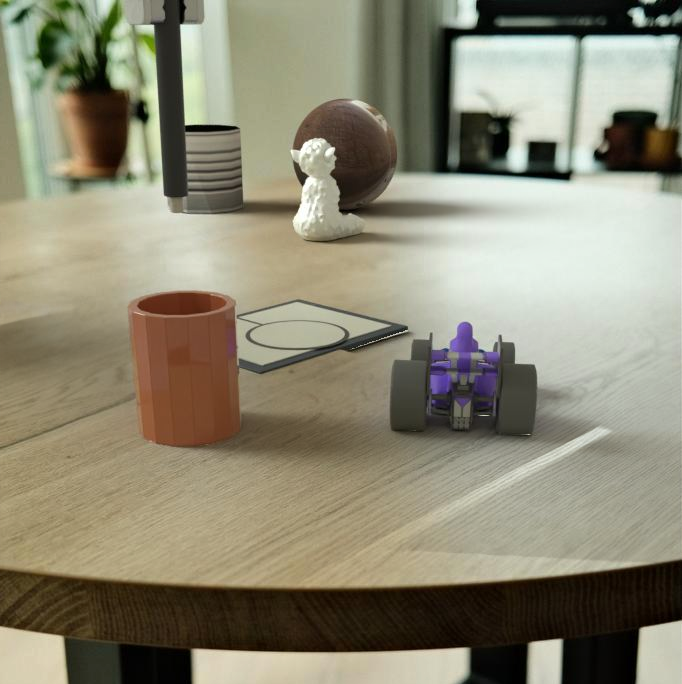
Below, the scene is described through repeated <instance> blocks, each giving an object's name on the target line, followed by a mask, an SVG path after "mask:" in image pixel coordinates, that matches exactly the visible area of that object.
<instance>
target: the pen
mask: <svg viewBox="0 0 682 684" xmlns="http://www.w3.org/2000/svg"><path fill="white" fill-rule="evenodd" d="M162 8H163V9H164V11H165V20H164V23H163V24H162V25H153V34H154V50H155V65H156V66H155V67H156V68H155V69H156V70H155V71H156V84H157V85H156V88H157V101H158V103H157V105H158V119H159V120H158V121H159V138H160V153H161V170H162V171H161V172H162V187H163V188H162V189H163V196H164V197H165V198H167V197H170V209H169V210H170V213H172V214H182V212H183V197H186V196H188V177H187V156H186V135H185V125H186V118H185V115H186V114H185V95H184V73H183V55H182V54H183V52H182V31H181V30H182V29H181V25H180V8H179V0H164V5H163V7H162Z"/></svg>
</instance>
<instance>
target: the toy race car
mask: <svg viewBox="0 0 682 684" xmlns="http://www.w3.org/2000/svg"><path fill="white" fill-rule="evenodd" d="M433 334H434V333H433V332H429V338H428V339H423V338H421V339H420V338H419V339H418V338H414V339H413V340H412V342H411V347H410V348H411V350H410V359H394V360H393V363H392V367H391V375H390V387H389V388H390V389H389V427H390V430H391V429H392V430H391V431H403V430H416V431H415V432H424V431H425V430H426V427H427V418H428V417H427V415H428V416H430V415H433V414H446V415H445V416H447V417H448V419H449V422H450V426H451V430H461V431H463V430H465V431H470V430H471V428H472V425H473V424H472V423H473V420H474V418H475V417H478V415H491V416H492V418H495V430H497V431H496V433H497V432H498V433H500V434H499V435H503V434H531V435H533V431H534V429H535V422H536V415H537V402H538V372H537V371H538V370H537V367H536V365H535V364H533V363H516V344H515V343H514V341H503V336H502V334H498V337H497V341H494V344H493V348H492V351H486V350H484V349H482V348H479V341H478V340H477V339H475V338H474V329H473V325H472V323H470V322H468V321H461V322H459V324H458V325H457V327H456V336H455V337H454V338H452V339H451V340H450V341H449V348H448V347H444V348H441V349H433V348H434V347H433V346H434V345H433V339H434V338H433V336H434V335H433ZM431 413H432V414H431ZM424 429H425V430H424ZM498 433H497V434H498Z"/></svg>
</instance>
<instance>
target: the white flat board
mask: <svg viewBox="0 0 682 684" xmlns="http://www.w3.org/2000/svg"><path fill="white" fill-rule="evenodd" d="M405 330H408V331H409V325H405V324H401V323H396V322H394V321H389V320H384V319H381V318H377V317H373V316H369V315H366V314H365V315H364V314H360V313H356V312H353V311H348V310H344V309H340V308H337V307H331V306H328V305H323V304H320V303H315V302H312V301H308V300H305V299H304V300H303V299H299V298H298V299H293V300H290V301H286V302H282V303H279V304H274V305H271V306H267V307H262V308H259V309H255V310H251V311H247V312H243V313H238V314H237V335H238V357H239V369H243V370H247V371H249V372H252V373H254V374H255V373H256V374H259V375H262V374H265V373H268V372H271V371H275V370H278V369H281V368H284V367H288V366H291V365H294V364H298V363H300V362H304V361H306V360H311V359H313V358H317V357H319V356H323V355H325V354H329V353H333V352H336V351H338V350H341V351H345V352H348V351H347V350H350V349H352V348H356V347H358V346H360V345H364V344H367V343H369V342H372V341H376V340H379V339H381V338H384V337H387V336H390V335H393V334H396V333H399V332H403V331H405Z"/></svg>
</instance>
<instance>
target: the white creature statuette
mask: <svg viewBox="0 0 682 684" xmlns="http://www.w3.org/2000/svg"><path fill="white" fill-rule="evenodd" d="M334 151H335V148H334V147H331V145H330V144H329V143H327V141H326V140H325V139H322V138H319V139H317V138H314V139H312V140H309V141H308V142H305V143H304V144H303V147H302V148H301V150H300V151H298V150H293V149H290V153H291V156H292V161H293V160H294V161H295V162H297V163H299V166H300V167H301V170H302V171H303V172H305V173H306V174H307V175H308V176H310V177H308V178H307V179H306V182H305V185H304V186H303V187H302V188H301V191H302V192H301V195H300V196H301V198H300V202H301V203H300V204H299V208H298V211H297V212H296V214H295V216H293V220H292V225H293V229H294V232H295V233H297V235H299V236H300V237H301V238H302V239H303V240H304V241H305V240H306V241H315V242H324V241H327V242H328V241H333V240H334V241H336V240H338V239H342V238H346V237H351V236H356V235H360V234H361V232H363V231H364V230H365V227H366V221H365V219H364V218H361V217H359V216H358V215H356V214H353V213H348V214H343V213H341V212H340V209H339V207H338V202H339V200H340V198H339V195H340V191H339V189H338V186H337V185H336V180H335V179H333V177H331V175H330V173H331V171H332V170H333V169H334V168H335V160H336V156H334Z"/></svg>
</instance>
